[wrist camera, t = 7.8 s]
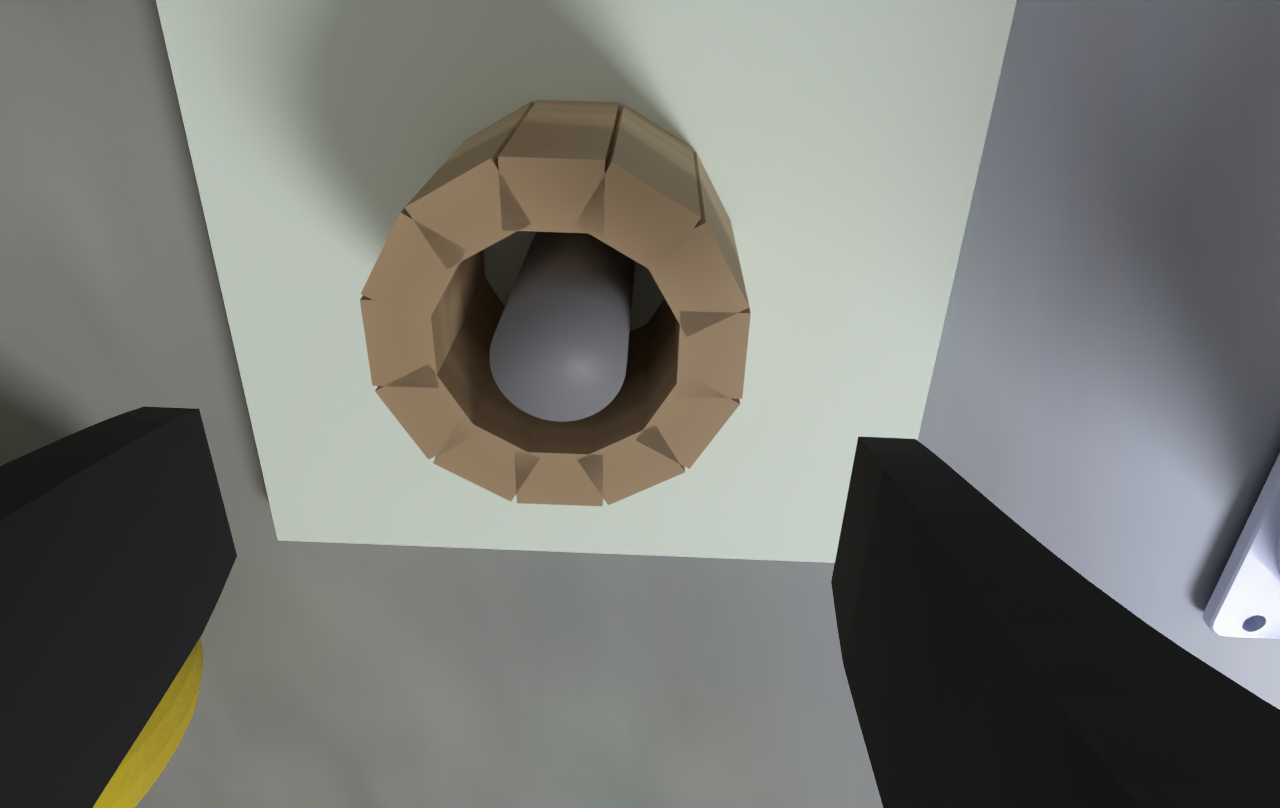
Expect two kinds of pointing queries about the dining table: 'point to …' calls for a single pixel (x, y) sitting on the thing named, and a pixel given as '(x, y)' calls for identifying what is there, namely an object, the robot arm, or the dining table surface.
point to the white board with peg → (590, 240)
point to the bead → (470, 309)
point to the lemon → (156, 738)
